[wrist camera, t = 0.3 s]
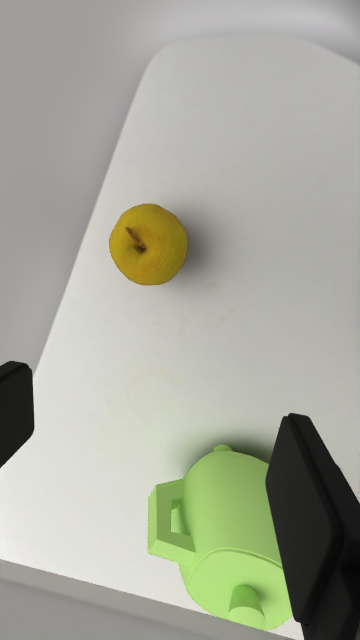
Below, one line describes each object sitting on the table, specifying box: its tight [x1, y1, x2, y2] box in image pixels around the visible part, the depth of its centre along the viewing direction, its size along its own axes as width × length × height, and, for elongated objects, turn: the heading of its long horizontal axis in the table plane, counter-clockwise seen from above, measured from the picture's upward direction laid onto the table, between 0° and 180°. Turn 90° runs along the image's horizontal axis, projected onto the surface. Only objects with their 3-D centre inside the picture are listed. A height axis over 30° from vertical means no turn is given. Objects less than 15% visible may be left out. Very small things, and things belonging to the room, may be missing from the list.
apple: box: [109, 204, 187, 285], centre depth 22 cm, size 6×6×8 cm
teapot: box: [148, 445, 293, 630], centre depth 26 cm, size 20×13×13 cm
